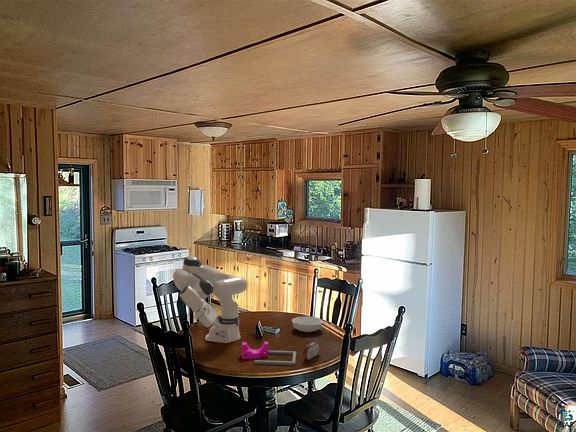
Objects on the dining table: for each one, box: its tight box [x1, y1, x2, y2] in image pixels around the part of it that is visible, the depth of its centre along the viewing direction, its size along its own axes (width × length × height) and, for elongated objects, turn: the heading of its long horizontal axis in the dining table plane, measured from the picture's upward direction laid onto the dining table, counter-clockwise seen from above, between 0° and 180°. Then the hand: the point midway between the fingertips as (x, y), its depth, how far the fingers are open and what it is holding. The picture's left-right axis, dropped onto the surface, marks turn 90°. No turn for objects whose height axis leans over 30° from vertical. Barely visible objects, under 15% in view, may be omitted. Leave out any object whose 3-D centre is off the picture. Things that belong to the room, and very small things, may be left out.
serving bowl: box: [291, 316, 323, 333], centre depth 301 cm, size 21×21×7 cm
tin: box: [302, 340, 320, 361], centre depth 251 cm, size 15×3×8 cm, turn 146°
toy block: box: [241, 341, 269, 360], centre depth 251 cm, size 15×6×8 cm, turn 97°
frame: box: [254, 349, 297, 366], centre depth 248 cm, size 22×17×2 cm
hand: (219, 326), depth 249 cm, fingers closed
